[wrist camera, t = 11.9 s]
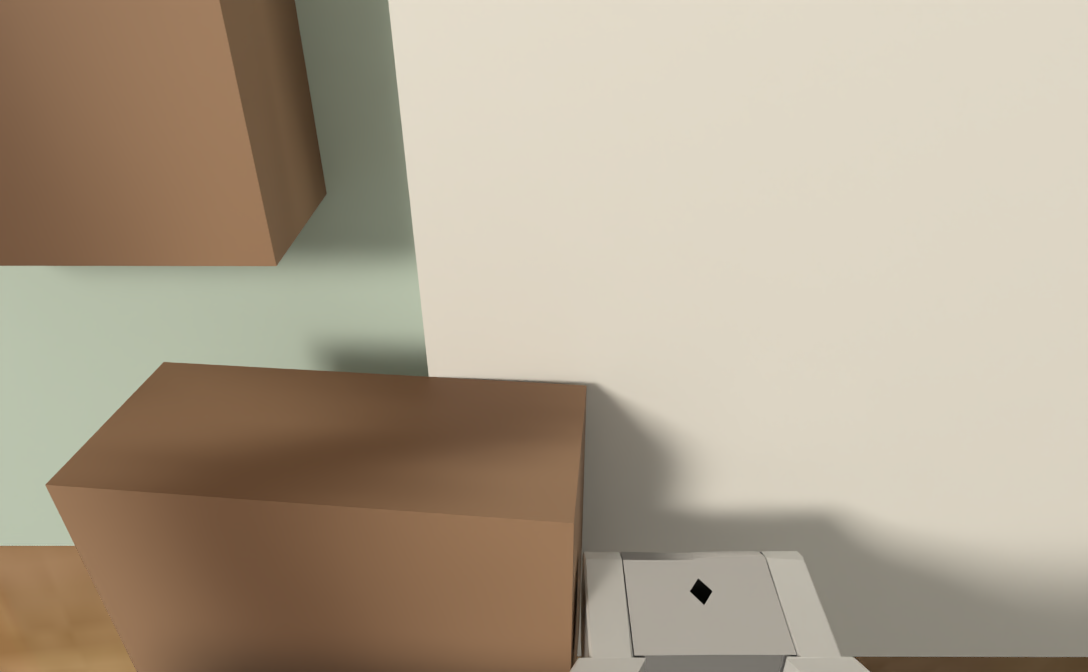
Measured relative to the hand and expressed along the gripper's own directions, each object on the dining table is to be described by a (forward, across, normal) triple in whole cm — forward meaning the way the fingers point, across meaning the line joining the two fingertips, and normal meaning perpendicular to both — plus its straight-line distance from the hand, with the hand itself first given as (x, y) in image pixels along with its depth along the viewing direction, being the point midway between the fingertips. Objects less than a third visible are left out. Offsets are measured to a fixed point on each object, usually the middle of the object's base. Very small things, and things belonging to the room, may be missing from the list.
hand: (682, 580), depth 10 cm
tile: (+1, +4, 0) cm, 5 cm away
